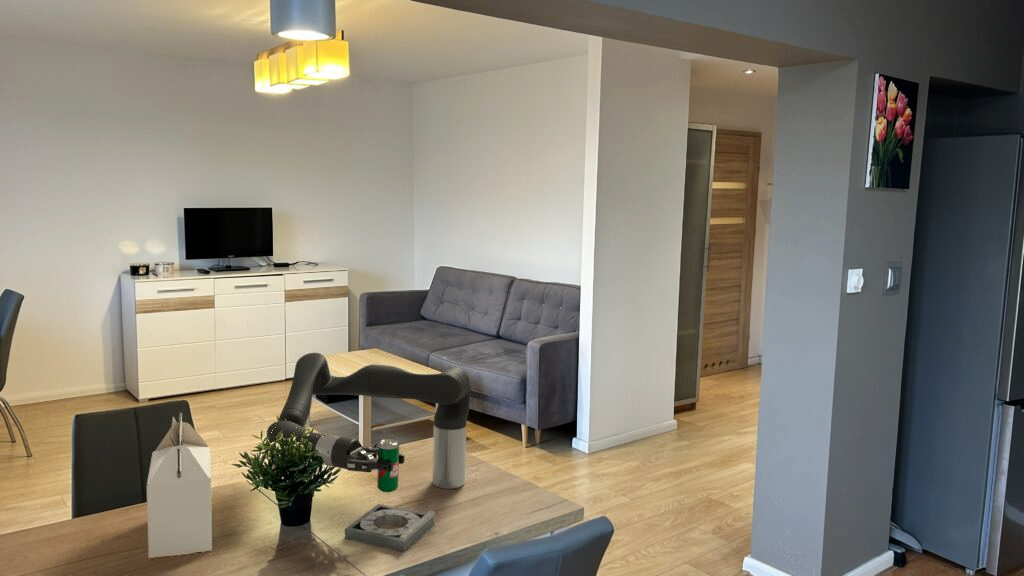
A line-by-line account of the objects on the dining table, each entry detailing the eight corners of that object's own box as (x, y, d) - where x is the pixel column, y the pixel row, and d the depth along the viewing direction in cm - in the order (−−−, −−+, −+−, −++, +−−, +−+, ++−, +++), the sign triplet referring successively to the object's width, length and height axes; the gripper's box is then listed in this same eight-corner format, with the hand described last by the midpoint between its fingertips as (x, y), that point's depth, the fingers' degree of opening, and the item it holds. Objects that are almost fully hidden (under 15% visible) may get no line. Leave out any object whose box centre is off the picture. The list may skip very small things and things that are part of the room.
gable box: (154, 518, 195) (151, 409, 191) (211, 512, 200) (209, 406, 196) (148, 560, 175) (145, 439, 171) (212, 552, 179) (210, 434, 175)
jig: (378, 513, 203) (378, 500, 203) (434, 524, 198) (434, 511, 197) (344, 538, 188) (344, 525, 188) (404, 552, 183) (404, 537, 182)
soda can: (393, 494, 189) (395, 446, 187) (374, 491, 190) (375, 444, 188) (401, 486, 194) (402, 439, 192) (381, 483, 195) (382, 437, 193)
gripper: (321, 445, 189) (383, 457, 183) (353, 429, 202) (412, 439, 196) (321, 475, 190) (382, 488, 184) (353, 456, 203) (411, 468, 197)
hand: (397, 463), depth 190 cm, fingers closed on soda can, 5 cm apart
